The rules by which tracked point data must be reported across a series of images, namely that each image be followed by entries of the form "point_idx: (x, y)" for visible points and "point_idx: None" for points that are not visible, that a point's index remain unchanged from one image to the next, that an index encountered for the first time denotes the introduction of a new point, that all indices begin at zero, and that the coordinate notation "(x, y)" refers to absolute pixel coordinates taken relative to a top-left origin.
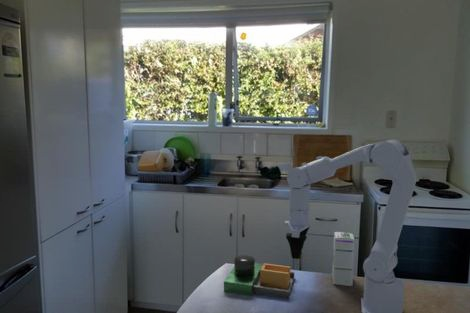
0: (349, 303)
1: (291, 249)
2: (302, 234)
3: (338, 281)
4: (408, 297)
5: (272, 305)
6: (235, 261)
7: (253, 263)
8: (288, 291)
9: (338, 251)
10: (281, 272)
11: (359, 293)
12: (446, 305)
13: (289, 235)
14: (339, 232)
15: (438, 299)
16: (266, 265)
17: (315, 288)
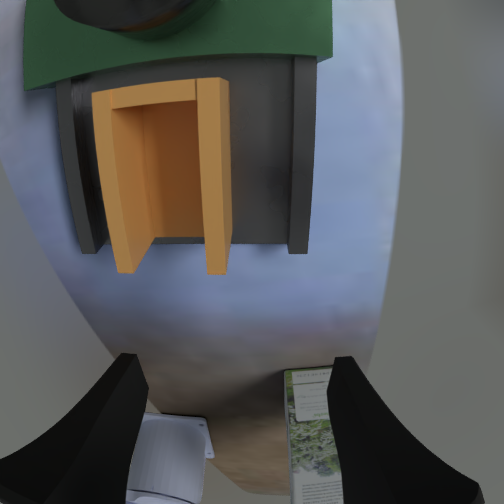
0: (169, 396)
1: (82, 405)
2: (350, 495)
3: (284, 389)
4: (259, 465)
5: (30, 192)
6: None
7: (103, 28)
8: (83, 253)
9: (291, 491)
10: (114, 235)
11: (242, 415)
12: (247, 485)
13: (2, 502)
14: None
15: (267, 483)
16: (198, 104)
17: (227, 323)
